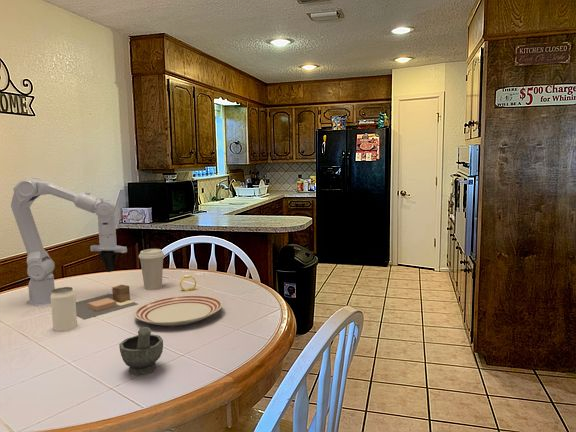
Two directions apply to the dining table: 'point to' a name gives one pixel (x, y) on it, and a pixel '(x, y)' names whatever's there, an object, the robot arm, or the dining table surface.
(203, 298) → the dinner plate
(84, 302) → the mat
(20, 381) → the dining table surface
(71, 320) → the can
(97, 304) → the tile
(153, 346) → the mortar and pestle
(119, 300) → the block
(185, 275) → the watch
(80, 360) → the dining table surface
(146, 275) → the coffee cup
